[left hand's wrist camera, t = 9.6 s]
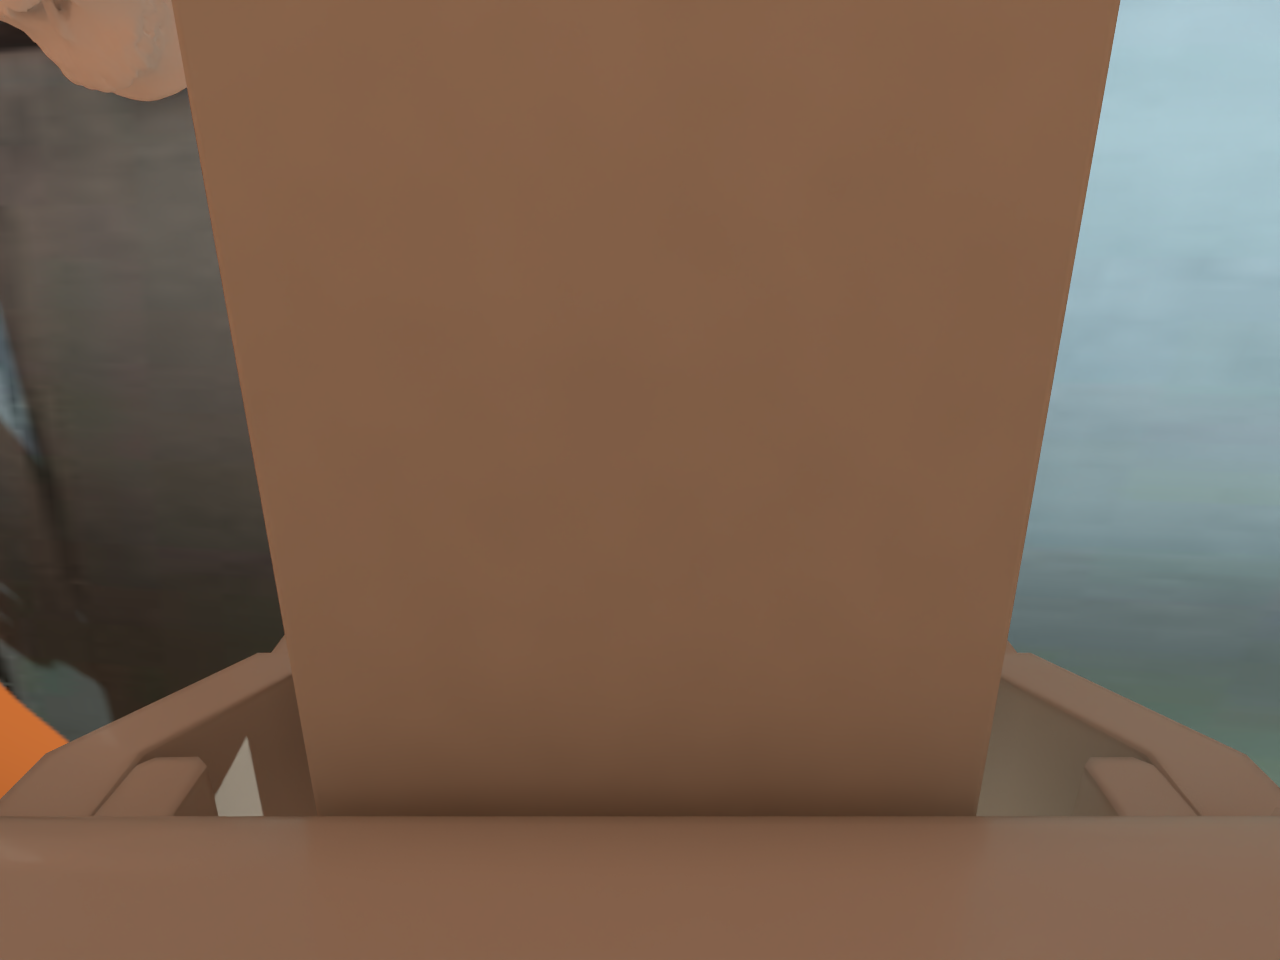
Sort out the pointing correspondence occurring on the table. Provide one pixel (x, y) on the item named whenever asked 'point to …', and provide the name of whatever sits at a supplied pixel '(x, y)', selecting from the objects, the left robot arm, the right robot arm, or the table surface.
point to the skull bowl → (106, 43)
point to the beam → (646, 383)
